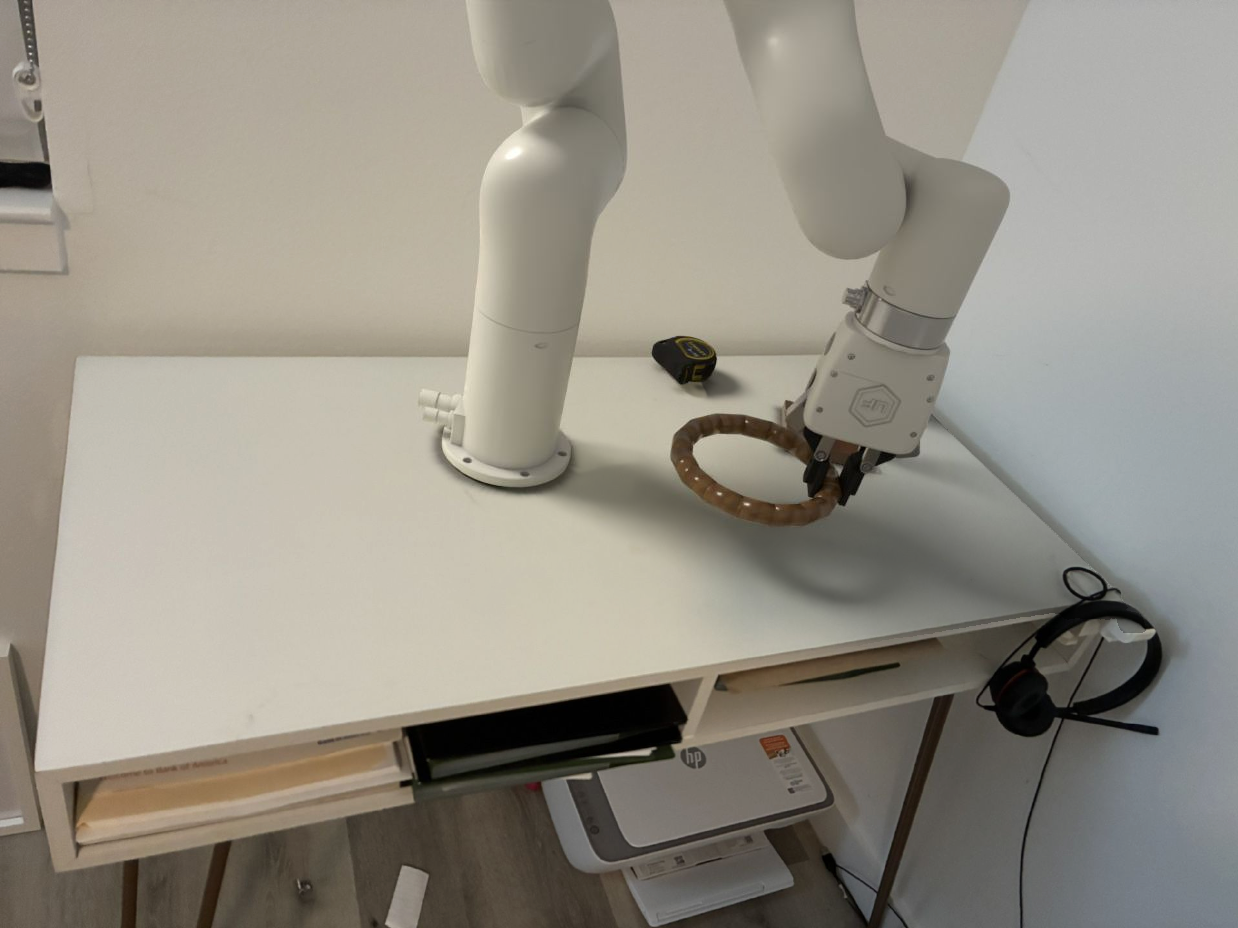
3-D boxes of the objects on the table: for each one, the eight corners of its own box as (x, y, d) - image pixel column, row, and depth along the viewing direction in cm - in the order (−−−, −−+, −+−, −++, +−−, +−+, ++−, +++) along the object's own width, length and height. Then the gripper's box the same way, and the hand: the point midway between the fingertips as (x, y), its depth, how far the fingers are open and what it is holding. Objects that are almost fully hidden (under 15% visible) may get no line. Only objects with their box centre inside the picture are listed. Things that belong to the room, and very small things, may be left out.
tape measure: (646, 362, 112) (652, 335, 110) (692, 358, 115) (699, 331, 113) (674, 391, 107) (681, 363, 105) (721, 386, 110) (729, 359, 108)
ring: (661, 504, 78) (667, 485, 77) (675, 411, 92) (680, 394, 90) (842, 549, 79) (851, 532, 77) (830, 450, 92) (836, 434, 91)
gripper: (811, 310, 72) (741, 495, 82) (1007, 363, 72) (913, 539, 82) (806, 275, 78) (742, 450, 88) (987, 323, 78) (902, 492, 88)
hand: (825, 492), depth 85 cm, fingers closed on ring, 2 cm apart
